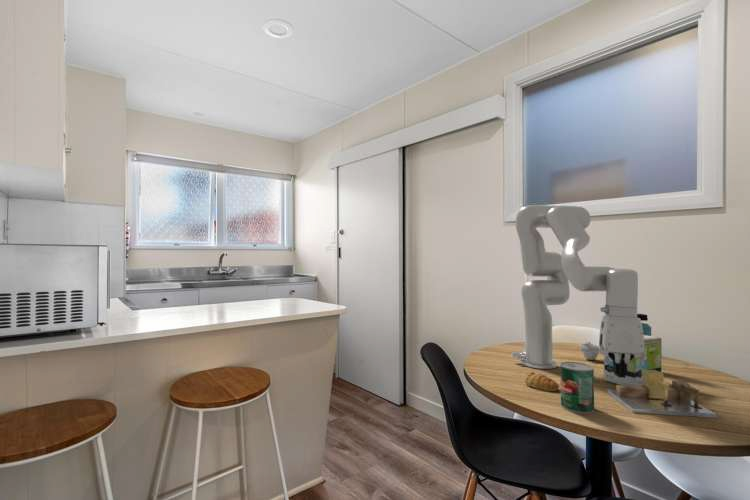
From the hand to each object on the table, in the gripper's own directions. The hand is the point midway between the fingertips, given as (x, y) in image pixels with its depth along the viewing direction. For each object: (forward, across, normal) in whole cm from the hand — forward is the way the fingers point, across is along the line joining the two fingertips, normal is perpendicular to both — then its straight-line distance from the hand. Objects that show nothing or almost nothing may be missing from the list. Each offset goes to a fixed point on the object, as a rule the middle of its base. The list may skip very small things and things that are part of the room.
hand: (619, 375), depth 105 cm
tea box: (+7, +11, +16) cm, 21 cm away
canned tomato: (+6, -15, -10) cm, 19 cm away
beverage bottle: (+7, +21, +31) cm, 38 cm away
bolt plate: (+6, +8, -4) cm, 10 cm away
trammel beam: (+5, +8, -3) cm, 10 cm away
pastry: (+7, -20, +6) cm, 22 cm away
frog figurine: (+8, +8, +42) cm, 43 cm away
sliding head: (+5, +8, -3) cm, 10 cm away
